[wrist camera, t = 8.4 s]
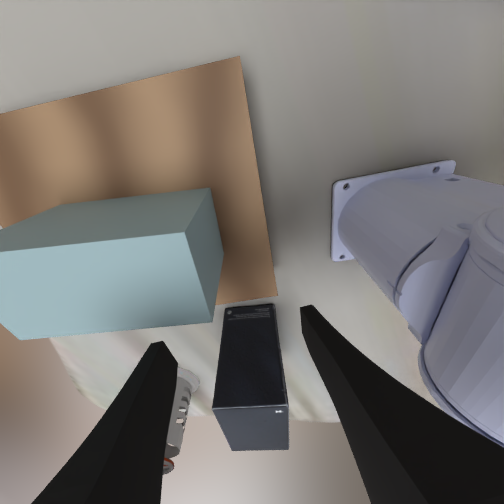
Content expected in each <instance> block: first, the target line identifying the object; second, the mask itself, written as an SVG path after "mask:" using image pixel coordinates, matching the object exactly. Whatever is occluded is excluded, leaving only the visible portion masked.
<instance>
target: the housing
mask: <svg viewBox="0 0 504 504" xmlns="http://www.w3.org/2000/svg"><path fill="white" fill-rule="evenodd" d="M223 256H224V251H223V246H222V241H221V236H220V232H219V227H218V222H217V217H216V213H215V208H214V203H213V198H212V193H211V189H210V188H202V189H193V190H185V191H176V192H167V193H158V194H150V195H141V196H132V197H123V198H115V199H106V200H97V201H88V202H80V203H71V204H62V205H58V206H56V207H53V208H51V209H49V210H46V211H44V212H41V213H39V214H37V215H34V216H32V217H30V218H27V219H25V220H22V221H20V222H18V223H15V224H13V225H11V226H8V227H6V228H3V229H1V230H0V323H1V324H2V325H3V326H4V327H6V328H7V329H8V330H9V331H10V332H11V333H12V334H14V335H15V336H16V337H17V338H18V339H19V340H26V339H37V338H48V337H59V336H70V335H80V334H91V333H102V332H113V331H123V330H134V329H145V328H155V327H166V326H177V325H188V324H198V323H209V322H212V321H213V315H214V309H215V303H216V297H217V292H218V286H219V280H220V274H221V268H222V262H223Z"/></svg>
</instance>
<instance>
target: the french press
mask: <svg viewBox="0 0 504 504" xmlns="http://www.w3.org/2000/svg"><path fill="white" fill-rule="evenodd" d="M199 384H200V382H199V380H198V378H197V376H195V375H194V374H193V373H191V372H190V371H188V370H185V369H182V368H179V367H178V370H177V385H176V391H175V397H174V402H173V408H172V413H171V419H170V424H169V430H168V435H167V441H166V448H165V456H164V466H163V475H164V474H167V473H169V472H171V471H172V470H173V469H174V463H173V461H172V460H170V459H169V458H172V457H175V456H177V455H178V454H179V452H180V448H181V444H182V439H183V433H184V429H185V428H184V429H183V426H184V425H185V423H186V419H187V418H186V415H187V413H188V409H189V407H188V405H189V404H190V399H191V394H192V393H193V392H195V391H196V390H197V389H198V387H199ZM179 409H186V412H185V413H184V412H181V411H179ZM182 418H183V420H184V422H183V423H180V424H178V423H176V420H177V419H182ZM167 443H170V444H172V445H174V446H170V445H168V444H167ZM175 446H177V447H175Z"/></svg>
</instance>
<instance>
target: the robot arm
mask: <svg viewBox="0 0 504 504" xmlns="http://www.w3.org/2000/svg"><path fill="white" fill-rule="evenodd" d="M455 166H456V162H455V161H453V160H445V161H440V162H435V163H429V164H424V165H419V166H414V167H408V168H403V169H398V170H393V171H387V172H382V173H377V174H372V175H366V176H361V177H356V178H351V179H345V180H340V181H337V182H336V183H334V185H333V193H332V232H331V259H332V260H333V261H334V262H338V261H344V260H350V259H356V260H357V261H358V263H359V264H360V265H361V266H362V267H363V269H364V270H365V271H366V272H367V273H368V275H369V276H370V277H371V278H372V279H373V281H374V282H375V283H376V284H377V285H378V287H379V288H380V289H381V290H382V291H383V293H384V294H385V295H386V296H387V297H388V299H389V300H390V301H391V302H392V304H393V305H394V306H395V307H396V308H397V309H398V310H399V312H400V313H401V314H402V316H403V317H404V318H405V319H406V320H407V321H408V329H409V330H410V331H411V332H412V333H413V335H414V336H415V337H416V338H417V340H418V341H419V342H420V343H421V344H422V346H421V348H420V350H419V354H418V366H419V370H420V375H421V377H422V379H423V382H424V384H425V386H426V387H427V389H428V391H429V392H430V394H431V395H432V397H433V398H434V399H435V401H436V402H437V403H438V405H439V406H440V407H441V408H442V409H443V410H444V411H445V412H446V413H445V412H444V411H442V410H440V409H439V408H437V407H436V406H434V405H433V404H431V403H430V402H428V401H427V400H425V399H424V398H422V397H421V396H419V395H418V394H416V393H415V392H413V391H412V390H410V389H409V388H407V387H406V386H404V385H403V384H401V383H400V382H399V381H397V380H396V379H395V378H393V377H392V376H391V375H389V374H388V373H386V372H385V371H384V370H383V369H381V368H380V367H379V366H377V365H376V364H375V363H374V362H372V361H371V360H370V359H369V358H367V357H366V356H365V355H364V354H363V353H361V352H360V351H359V350H358V349H357V348H356V347H354V346H353V345H352V344H351V343H350V342H349V341H348V340H347V339H345V338H344V337H343V336H342V335H341V334H340V333H339V332H338V331H337V330H336V329H335V328H334V327H333V326H332V325H331V324H330V323H329V322H328V321H327V320H326V319H325V318H324V317H323V316H322V315H321V314H320V313H319V312H318V310H317V309H316V308H315V307H314V306H313V305H308V306H304V307H300V314H301V326H302V334H303V336H304V339H305V342H306V345H307V348H308V350H309V353H310V355H311V357H312V359H313V361H314V363H315V365H316V367H317V370H318V372H319V374H320V376H321V378H322V380H323V382H324V384H325V386H326V388H327V390H328V393H329V395H330V397H331V399H332V401H333V403H334V406H335V408H336V411H337V413H338V416H339V418H340V421H341V423H342V426H343V429H344V431H345V434H346V436H347V439H348V442H349V444H350V447H351V450H352V452H353V455H354V458H355V460H356V463H357V466H358V469H359V471H360V474H361V477H362V479H363V482H364V485H365V487H366V490H367V493H368V496H369V499H370V502H371V504H504V185H500V184H495V183H491V182H487V181H482V180H478V179H473V178H469V177H465V176H460V175H456V174H453V173H454V169H455ZM435 167H436V169H435V170H434V171H433V169H434V168H435ZM345 184H348V186H347V187H346V188H345V189H343V186H344V185H345ZM341 255H343V256H342V257H340V256H341ZM177 370H178V362H177V361H176V360H175V358H174V357H173V355H172V354H171V352H170V351H169V349H168V348H167V346H166V345H165V343H164V342H163V341H160V342H155V343H151V345H150V346H149V348H148V349H147V351H146V352H145V354H144V355H143V357H142V358H141V360H140V361H139V363H138V365H137V366H136V368H135V369H134V371H133V372H132V374H131V375H130V377H129V379H128V380H127V382H126V383H125V385H124V386H123V388H122V389H121V391H120V392H119V394H118V395H117V397H116V398H115V399H114V401H113V402H112V404H111V405H110V407H109V408H108V409H107V411H106V412H105V414H104V415H103V417H102V418H101V419H100V421H99V422H98V423H97V425H96V426H95V428H94V429H93V430H92V432H91V433H90V434H89V435H88V437H87V438H86V439H85V441H84V442H83V443H82V444H81V446H80V447H79V448H78V449H77V451H76V452H75V453H74V454H73V456H72V457H71V458H70V459H69V460H68V462H67V463H66V464H65V465H64V466H63V467H62V469H61V470H60V471H59V472H58V473H57V475H56V476H55V477H54V478H53V480H51V482H50V483H49V484H48V485H47V486H46V487H45V489H44V490H43V491H42V492H41V493H40V494H39V496H38V497H37V498H36V499H35V500H34V501H33V502H32V503H31V504H160V501H161V488H162V475H163V466H164V456H165V448H166V441H167V435H168V430H169V424H170V419H171V413H172V408H173V402H174V397H175V391H176V385H177Z"/></svg>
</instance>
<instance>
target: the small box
mask: <svg viewBox="0 0 504 504" xmlns="http://www.w3.org/2000/svg"><path fill="white" fill-rule="evenodd" d="M212 410H213V412H214V414H215V416H216V419H217V421H218V423H219V424H220V427H221V429H222V431H223V433H224V435H225V437H226V439H227V441H228V443H229V445H230V448H231V450H232V451H245V450H288V449H289V405H288V397H287V390H286V383H285V376H284V369H283V363H282V356H281V349H280V343H279V336H278V328H277V319H276V311H275V305H263V306H252V307H238V308H228V309H225V314H224V321H223V330H222V337H221V345H220V353H219V360H218V368H217V376H216V383H215V391H214V399H213V405H212Z"/></svg>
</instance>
